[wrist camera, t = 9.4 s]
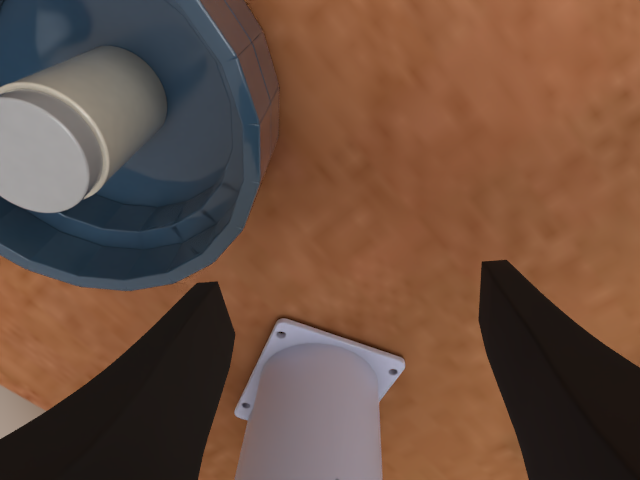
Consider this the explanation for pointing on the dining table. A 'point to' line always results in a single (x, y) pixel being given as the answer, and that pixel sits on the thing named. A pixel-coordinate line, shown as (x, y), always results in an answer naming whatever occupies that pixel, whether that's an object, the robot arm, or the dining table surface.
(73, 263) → the bowl
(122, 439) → the robot arm
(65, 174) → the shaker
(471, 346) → the dining table surface
